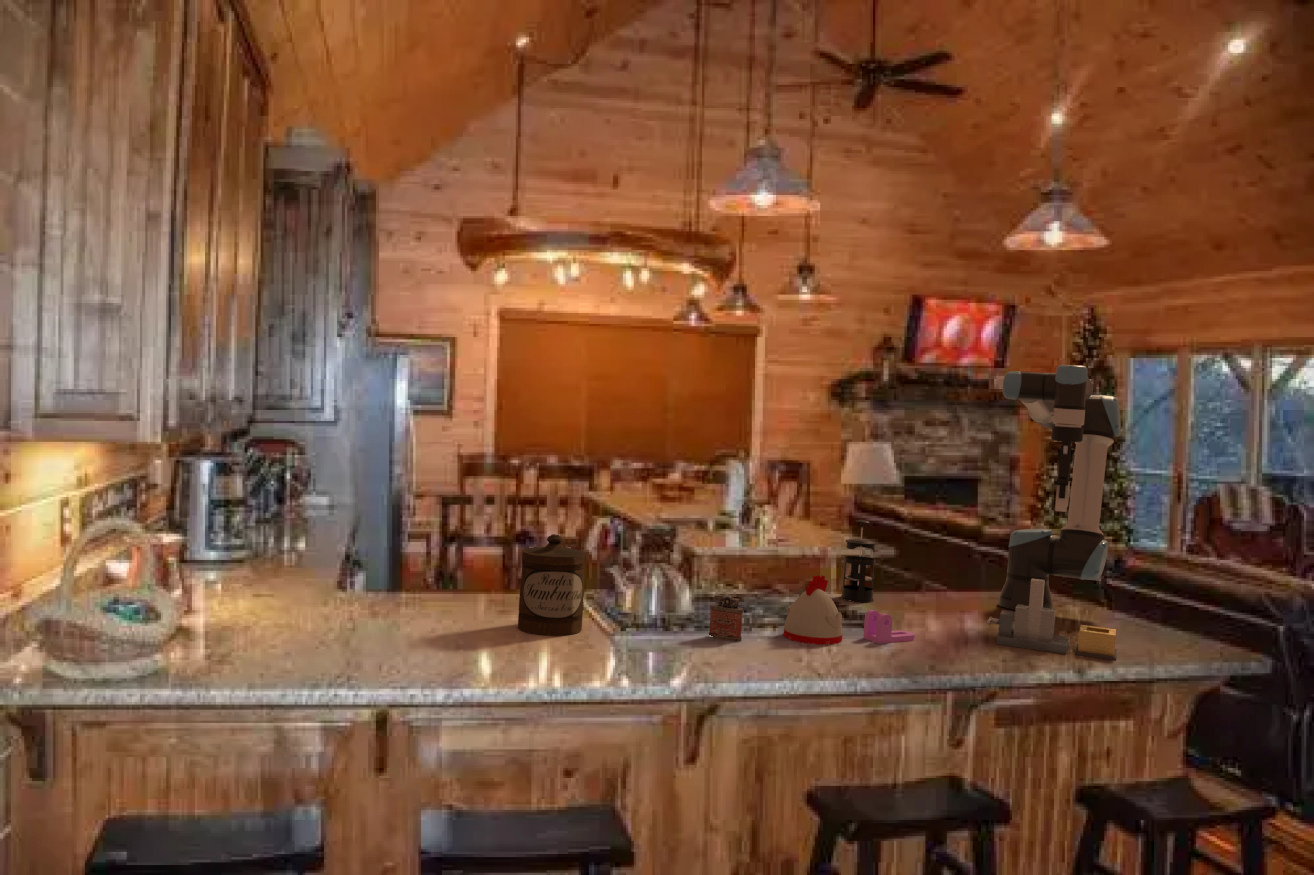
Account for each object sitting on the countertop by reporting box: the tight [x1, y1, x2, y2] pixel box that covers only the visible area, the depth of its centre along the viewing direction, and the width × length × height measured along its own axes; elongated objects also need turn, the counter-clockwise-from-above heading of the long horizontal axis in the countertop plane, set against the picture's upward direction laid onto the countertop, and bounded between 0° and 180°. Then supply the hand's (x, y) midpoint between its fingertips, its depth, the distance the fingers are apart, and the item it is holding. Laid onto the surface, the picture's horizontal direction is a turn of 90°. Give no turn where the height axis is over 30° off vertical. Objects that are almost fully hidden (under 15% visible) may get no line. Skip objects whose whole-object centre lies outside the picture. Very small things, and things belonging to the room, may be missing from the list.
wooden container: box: [517, 533, 586, 637], centre depth 253 cm, size 15×15×22 cm
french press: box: [840, 519, 878, 603], centre depth 317 cm, size 12×9×23 cm
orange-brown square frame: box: [1078, 624, 1117, 656], centre depth 264 cm, size 8×8×5 cm
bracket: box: [863, 609, 915, 644], centre depth 266 cm, size 13×6×7 cm, turn 121°
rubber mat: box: [1075, 643, 1117, 661], centre depth 264 cm, size 11×9×1 cm
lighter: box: [708, 594, 744, 643], centre depth 254 cm, size 8×3×10 cm, turn 65°
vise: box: [986, 579, 1070, 655], centre depth 270 cm, size 12×19×16 cm, turn 67°
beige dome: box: [783, 575, 843, 646], centre depth 261 cm, size 14×14×15 cm
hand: (1061, 508), depth 280 cm, fingers open, 13 cm apart
